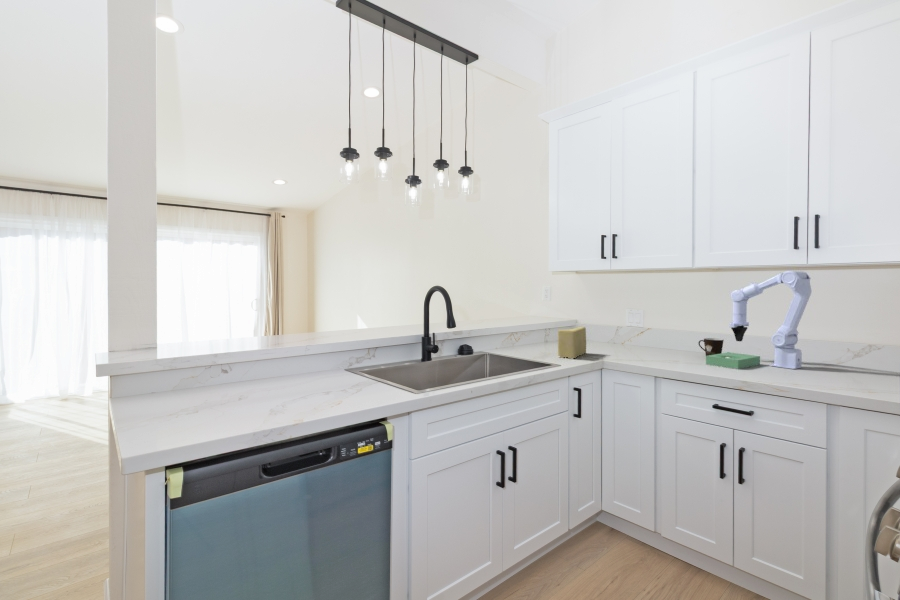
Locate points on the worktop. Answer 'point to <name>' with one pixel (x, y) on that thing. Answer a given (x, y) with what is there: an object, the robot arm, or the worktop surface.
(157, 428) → the worktop surface
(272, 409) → the worktop surface
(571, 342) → the cheese
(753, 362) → the practice green
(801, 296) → the robot arm
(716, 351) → the coffee mug
